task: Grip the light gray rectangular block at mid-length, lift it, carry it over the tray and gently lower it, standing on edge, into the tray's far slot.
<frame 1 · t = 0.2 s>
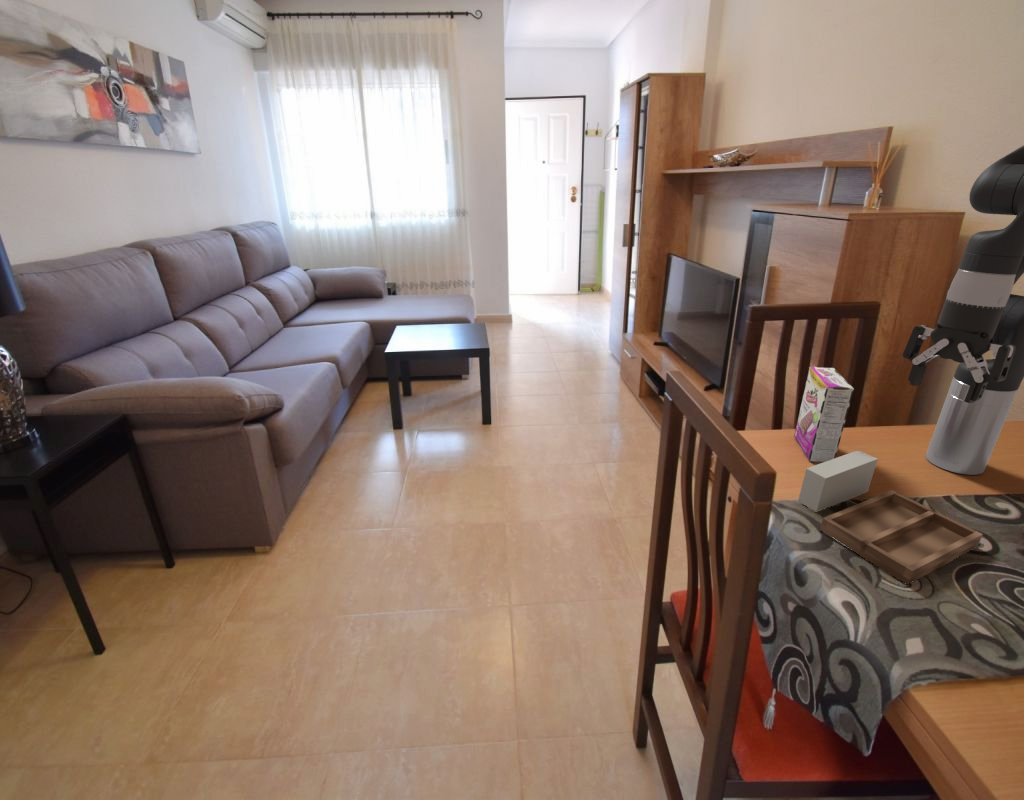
hand: (940, 393, 91), 18 cm above the table, tool pointing down, fingers open, 8 cm apart
tray: (896, 539, 83), on the table
candy bar box: (812, 450, 109), on the table
light gray rectangular block: (832, 497, 94), on the table
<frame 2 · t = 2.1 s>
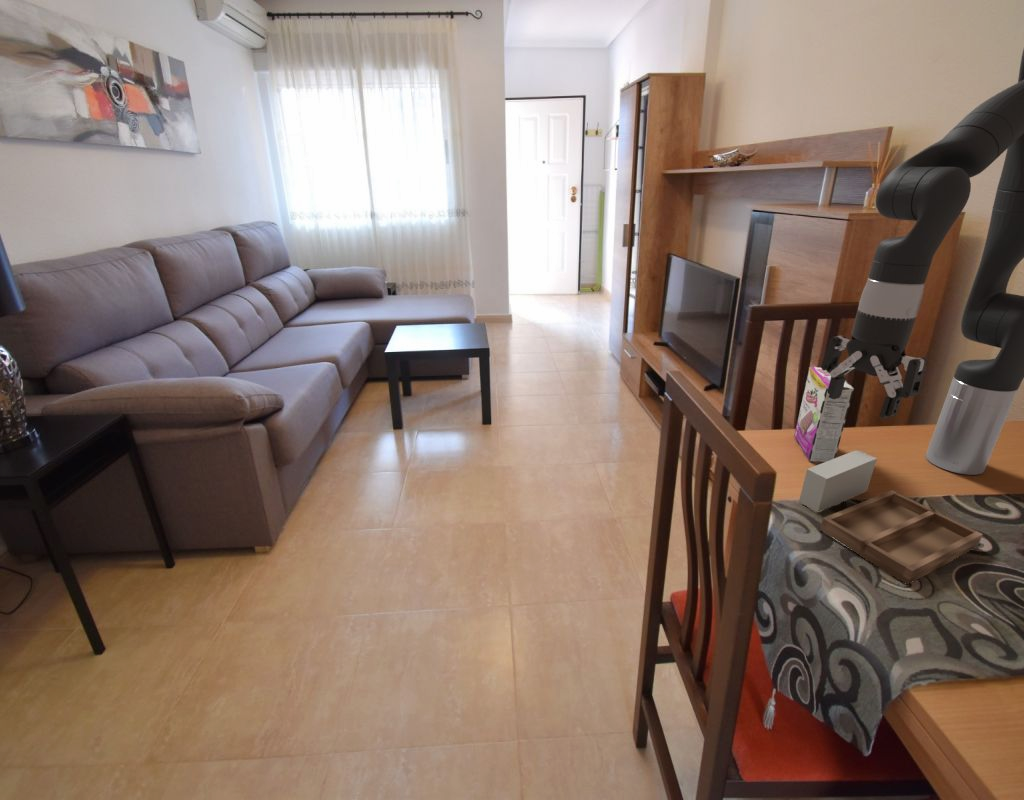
hand: (858, 407, 86), 18 cm above the table, tool pointing down, fingers open, 8 cm apart
nothing on the table moved.
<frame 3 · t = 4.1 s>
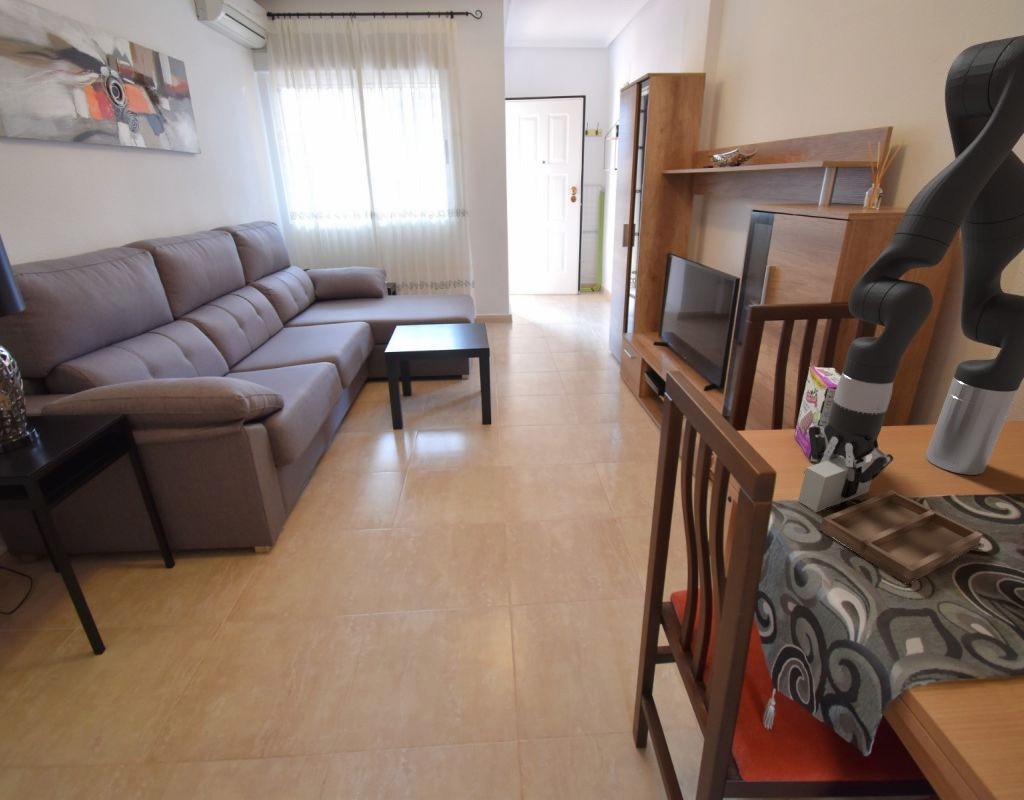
hand: (835, 490, 93), 1 cm above the table, tool pointing down, fingers closed on light gray rectangular block, 3 cm apart
light gray rectangular block: (833, 496, 94), on the table, touching gripper
everything else where it was.
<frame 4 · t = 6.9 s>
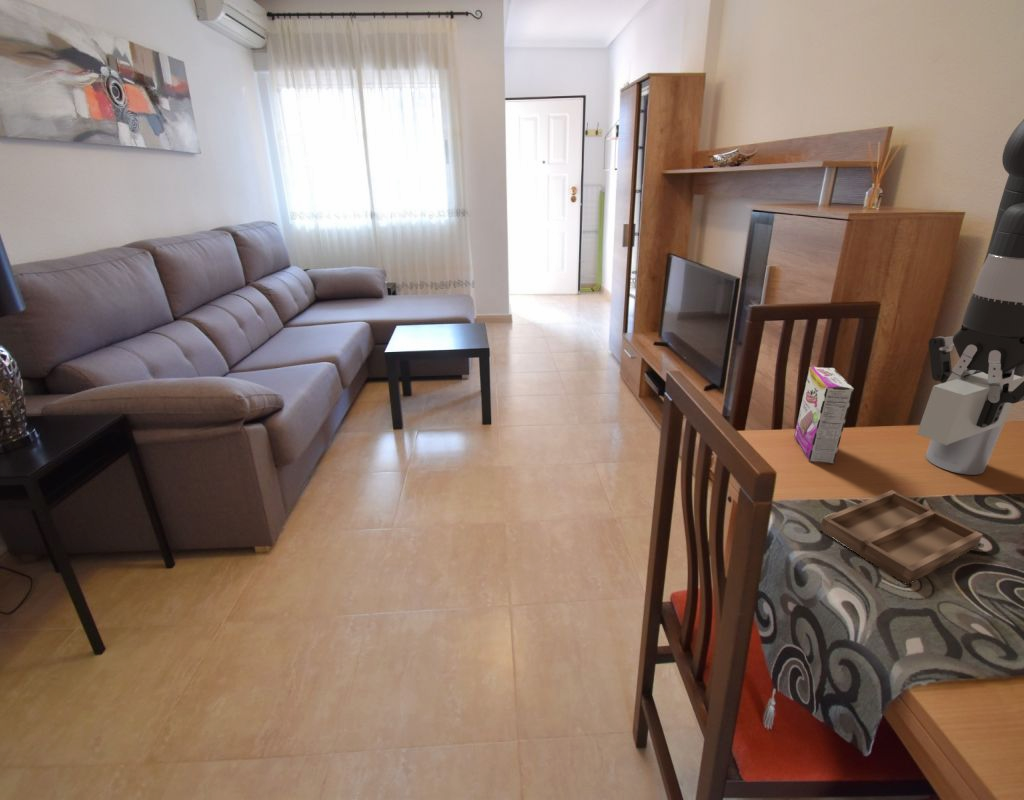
hand: (965, 419, 72), 22 cm above the table, tool pointing down, fingers closed on light gray rectangular block, 3 cm apart
light gray rectangular block: (961, 428, 72), point 21 cm above the table, touching gripper
everything else where it was.
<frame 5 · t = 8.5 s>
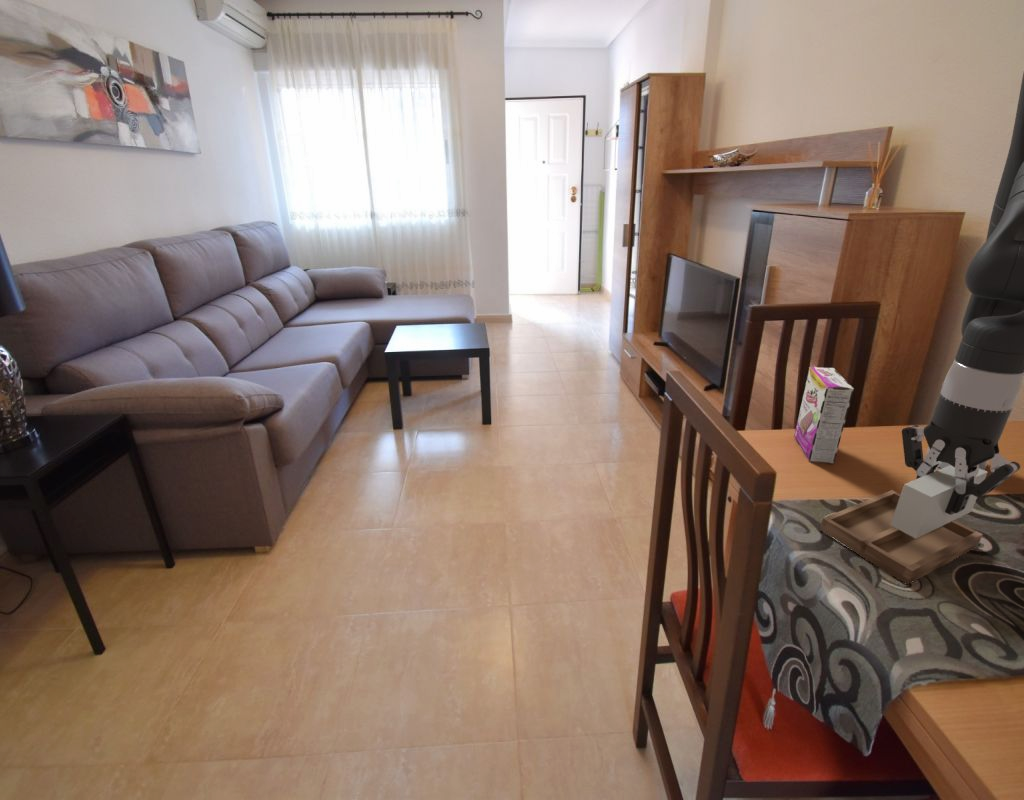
hand: (935, 504, 77), 9 cm above the table, tool pointing down, fingers closed on light gray rectangular block, 3 cm apart
light gray rectangular block: (931, 518, 78), point 6 cm above the table, touching gripper
everything else where it was.
when the fingers open (4 cm above the table, at t = 9.7 s): light gray rectangular block stays where it is, resting on tray.
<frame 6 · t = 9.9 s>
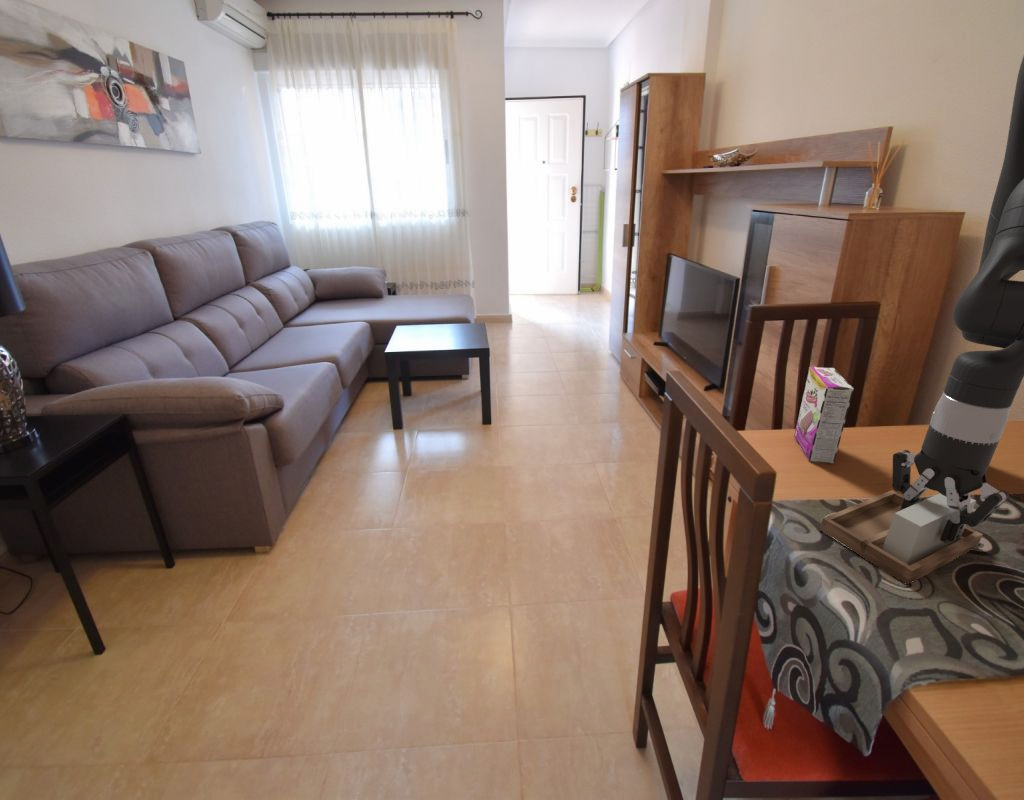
hand: (926, 529, 79), 4 cm above the table, tool pointing down, fingers open, 4 cm apart
light gray rectangular block: (921, 544, 80), point 1 cm above the table, touching tray
everything else where it was.
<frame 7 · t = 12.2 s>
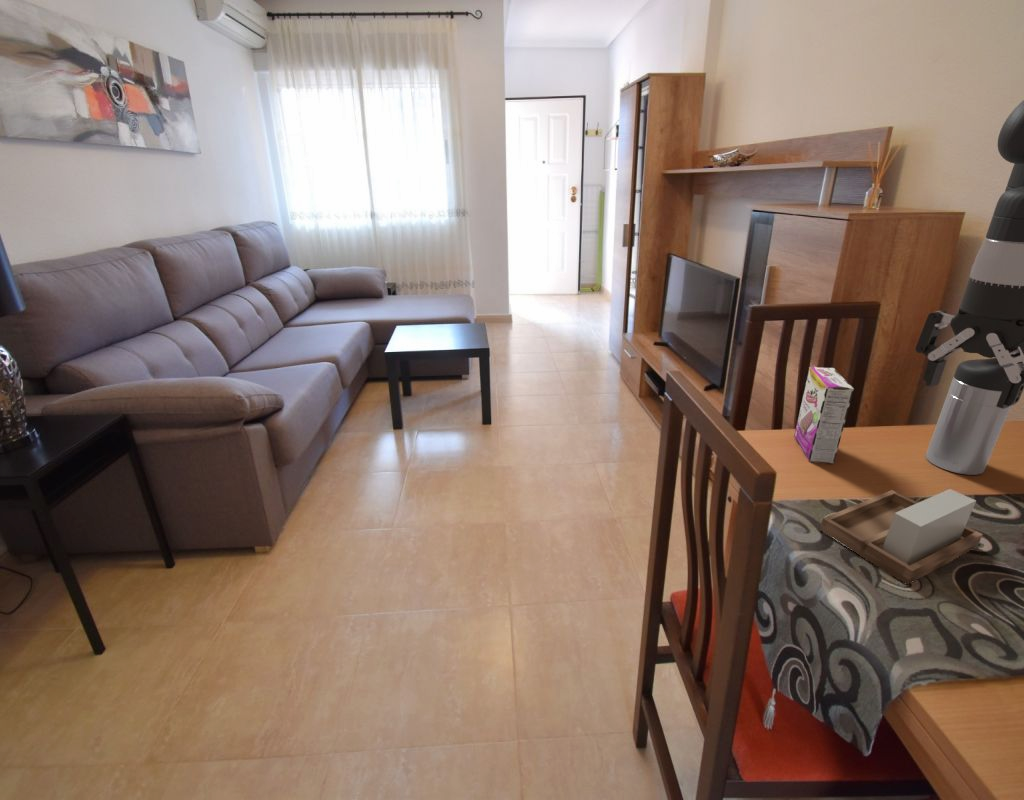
hand: (965, 395, 73), 25 cm above the table, tool pointing down, fingers open, 8 cm apart
nothing on the table moved.
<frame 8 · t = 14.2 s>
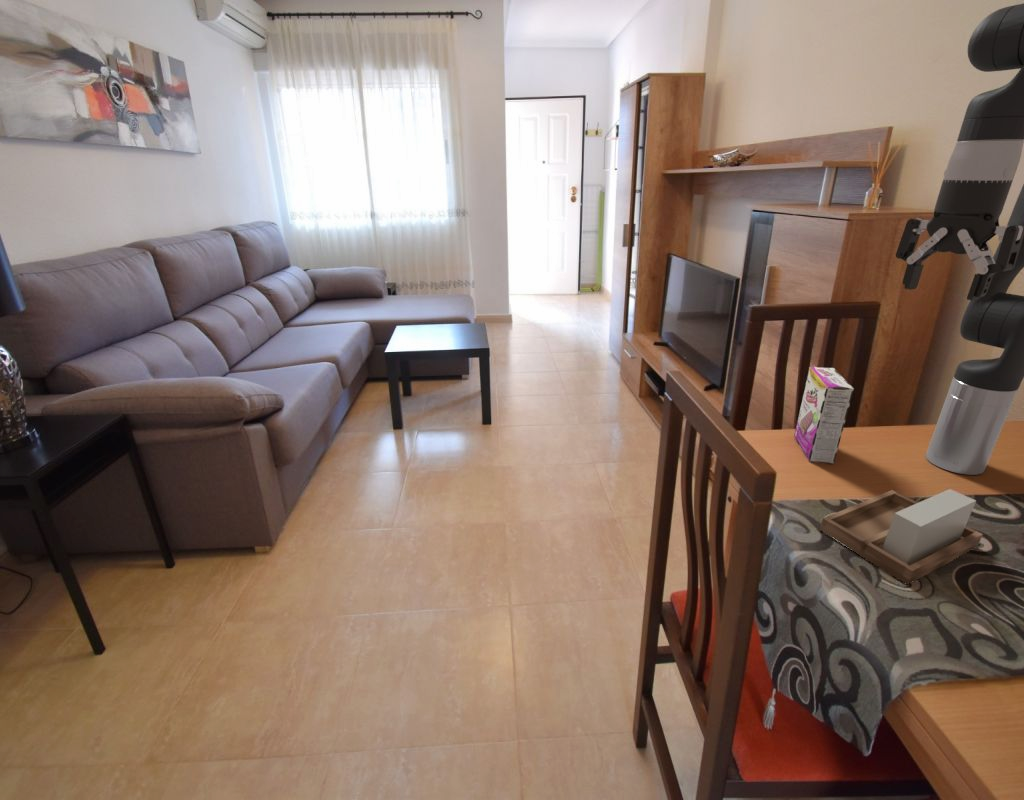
hand: (939, 294, 79), 36 cm above the table, tool pointing down, fingers open, 8 cm apart
nothing on the table moved.
at the end: light gray rectangular block inside the target area on the tray (0.4 cm from its centre), point 1.0 cm above the tray's base; light gray rectangular block tilted 0°; the gripper is holding nothing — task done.
